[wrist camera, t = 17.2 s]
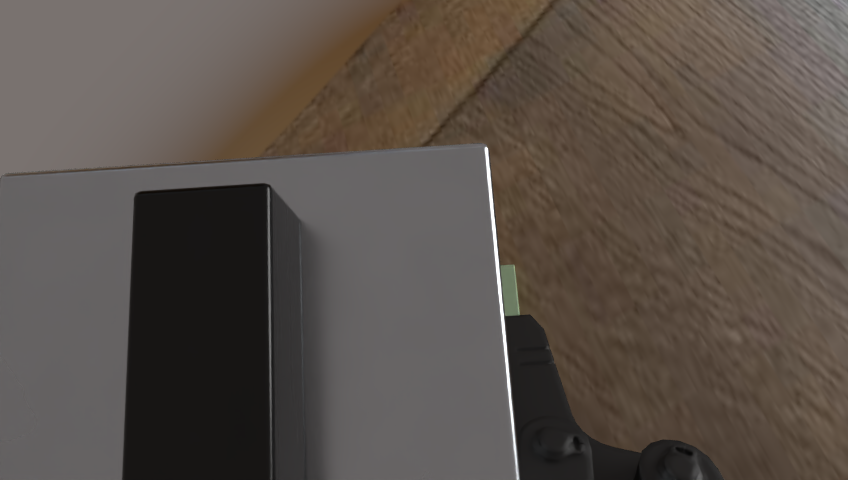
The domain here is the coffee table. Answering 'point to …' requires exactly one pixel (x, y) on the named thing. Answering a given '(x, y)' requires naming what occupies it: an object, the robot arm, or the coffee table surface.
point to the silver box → (256, 320)
